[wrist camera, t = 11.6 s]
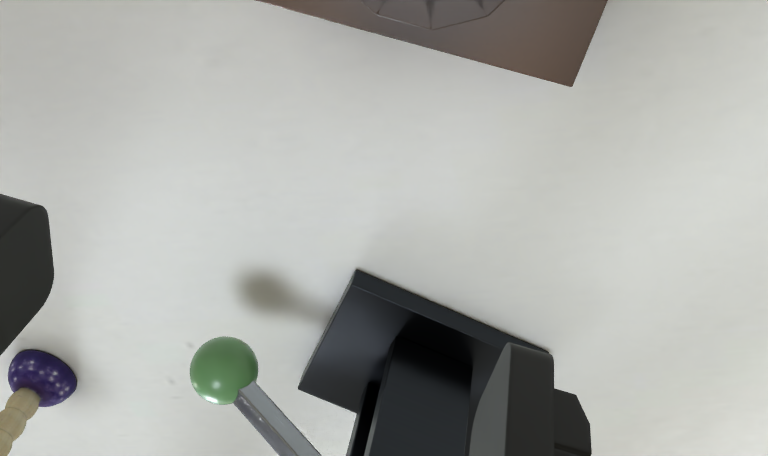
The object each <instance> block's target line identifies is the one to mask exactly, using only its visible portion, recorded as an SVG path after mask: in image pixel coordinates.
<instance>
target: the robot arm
mask: <svg viewBox="0 0 768 456" xmlns="http://www.w3.org/2000/svg"><path fill="white" fill-rule="evenodd" d="M53 279H54V267H53V257H52V248H51V238H50V229H49V219H48V213H47V211H46V209H45V208H44V207H43V206H41V205H37V204H34V203H30V202H27V201H23V200H20V199H16V198H13V197H9V196H6V195H2V194H0V355H1V354H2V353H3V352H4V351H5V350H6V348H7V347H8V346H9V345H10V344H11V343H12V341H13V340H14V339H15V338H16V337H17V336H18V334H19V333H20V332H21V331H22V330H23V329H24V327H25V326H26V325H27V324H28V323H29V322H30V320H31V319H32V318H33V317H34V316H35V315H36V313H37V312H38V311H39V310H40V309H41V307H42V306H43V305H44V303H45V302H46V300H47V298H48V296H49V294H50V291H51V288H52V284H53ZM591 454H592V453H591V436H590V423H589V421H588V419H587V417H586V415H585V413H584V411H583V409H582V407H581V405H580V402H579V400H578V398H577V396H576V395H575V394H571V393H568V392H564V391H561V390H557V389H554V361H553V356H552V355H551V354H548V353H544V352H541V351H537V350H534V349H531V348H527V347H524V346H520V345H517V344H513V343H510V342H508V343H507V344H506V345H505V347H504V349H503V351H502V353H501V355H500V357H499V360H498V362H497V364H496V366H495V368H494V371H493V373H492V375H491V377H490V379H489V381H488V384H487V386H486V388H485V390H484V392H483V394H482V397H481V399H480V402H479V404H478V407H477V411H476V414H475V418H474V422H473V427H472V433H471V442H470V451H469V456H591Z"/></svg>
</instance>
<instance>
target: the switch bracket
mask: <svg viewBox="0 0 768 456" xmlns="http://www.w3.org/2000/svg"><path fill="white" fill-rule="evenodd" d="M508 342H510V343H513V344H517V345H520V346H524V347H527V348H531V349H534V350H537V351H541V352H544V353H548V354H549V352H547V351H545V350H542V349H540V348H538V347H535V346H533V345H531V344H528V343H526V342H524V341H521V340H519V339H517V338H514V337H512V336H510V335H507V334H505V333H503V332H500V331H498V330H496V329H493V328H491V327H489V326H486V325H484V324H482V323H479V322H477V321H475V320H472V319H470V318H468V317H465V316H463V315H461V314H458V313H456V312H454V311H451V310H449V309H447V308H445V307H442V306H440V305H438V304H435V303H433V302H431V301H428V300H426V299H424V298H421V297H419V296H417V295H414V294H412V293H410V292H407V291H405V290H403V289H400V288H398V287H396V286H393V285H391V284H389V283H386V282H384V281H382V280H379V279H377V278H375V277H372V276H370V275H368V274H365V273H363V272H361V271H358V270H356V271H355V272H354V274H353V276H352V278H351V280H350V282H349V284H348V286H347V288H346V290H345V292H344V294H343V296H342V298H341V300H340V302H339V304H338V306H337V308H336V310H335V312H334V314H333V316H332V318H331V320H330V322H329V323H328V325H327V327H326V329H325V331H324V333H323V335H322V337H321V339H320V341H319V343H318V345H317V347H316V349H315V351H314V353H313V355H312V357H311V359H310V361H309V363H308V365H307V367H306V369H305V371H304V373H303V375H302V378H301V380H300V383H299V386H298V389H299V390H301V391H303V392H306V393H308V394H311V395H313V396H316V397H318V398H321V399H323V400H325V401H328V402H330V403H333V404H335V405H338V406H340V407H343V408H345V409H347V410H350V411H352V412H355V413H357V415H356V419H355V423H354V427H353V431H352V435H351V439H350V442H349V446H348V450H347V454H346V456H469V451H470V442H471V433H472V427H473V422H474V418H475V414H476V411H477V407H478V404H479V402H480V399H481V397H482V394H483V392H484V390H485V388H486V386H487V384H488V381H489V379H490V377H491V375H492V373H493V371H494V368H495V366H496V364H497V362H498V360H499V357H500V355H501V353H502V351H503V349H504V347H505V345H506V344H507V343H508Z"/></svg>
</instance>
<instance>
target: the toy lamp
mask: <svg viewBox="0 0 768 456" xmlns="http://www.w3.org/2000/svg"><path fill="white" fill-rule="evenodd" d="M8 381H9V384H10V387H11V389H12V391H13V392H14V393H13V394H12V395H11V397H10V398H9V399H8V401H7V403H6V407H5V409H4V410H3V411H1V412H0V456H7V455H8V454H9V452H10V450H11V448H12V442H13V441H14V440H16V439H17V438H18V437H19V436H20V435H21V434H22V432H23V431H24V428H25V426H26V421H27V420H29V419H30V418H31V417H32V416H33V415H34V414H35V413H36V411H37V409H38V406H39V407H49V406H53V405H56V404H59V403H61V402H63V401H64V400H66V399H67V398H68V397H69V396H70V395H71V394H72V393H73V392H74V391H75V389H76V386H77V384H76V379H75V376H74V374H73V372H72V371H71V370H70V368H69V367H68V366H67V365H66V364H64V363H63V362H62V361H61V360H59V359H57V358H56V357H54V356H52V355H49V354H47V353H44V352H40V351H34V350H28V351H23V352H20V353H19V354H17V355H16V356H15V357H14V359H13V360H12V362H11V364H10V367H9V372H8Z"/></svg>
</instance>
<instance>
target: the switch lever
mask: <svg viewBox="0 0 768 456" xmlns="http://www.w3.org/2000/svg"><path fill="white" fill-rule="evenodd" d="M257 376H258V362H257V359H256V356H255V354H254V352H253V351H252V349H251V348H250V347H249V346H248V345H247V344H246V343H244V342H243V341H241V340H239V339H237V338H233V337H218V338H214V339H212V340H210V341H208V342H206V343H205V344H203V345H202V346H201V347H200V348H199V349H198V350H197V352H196V353H195V355H194V357H193V359H192V362H191V365H190V379H191V383H192V385H193V387H194V389H195V391H196V392H197V393H198V394H199V395H200V396H201V397H202V398H203V399H205V400H206V401H208V402H211V403H214V404H219V405H226V404H232V403H234V404H235V406H236V407H237V408H238V409H239V410H240V411H241V412H242V414H243V415H244V416H245V417H246V418H247V419H248V420H249V422H250V423H251V424H252V425H253V426H254V427H255V428H256V430H257V431H258V432H259V433H260V434H261V435H262V436H263V437H264V439H265V440H266V441H267V442H268V443H269V444H270V445H271V447H272V448H273V449H274V450H275V451H276V452H277V453H278V455H279V456H321V454H320V453H319V452H318V451H317V450H316V449H315V448H314V447H313V446H312V444H311V443H310V442H309V441H308V440H307V439H306V438H305V437H304V436H303V435H302V433H301V432H300V431H299V430H298V429H297V428H296V427H295V426H294V425H293V423H292V422H291V421H290V420H289V419H288V418H287V417H286V416H285V415H284V414H283V412H282V411H281V410H280V409H279V408H278V407H277V406H276V405H275V404H274V402H273V401H272V400H271V399H270V398H269V397H268V396H267V395H266V394H265V393H264V391H263V390H262V389H261V388H260V387H259V386H258V385H257V384H256V380H257Z"/></svg>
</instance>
